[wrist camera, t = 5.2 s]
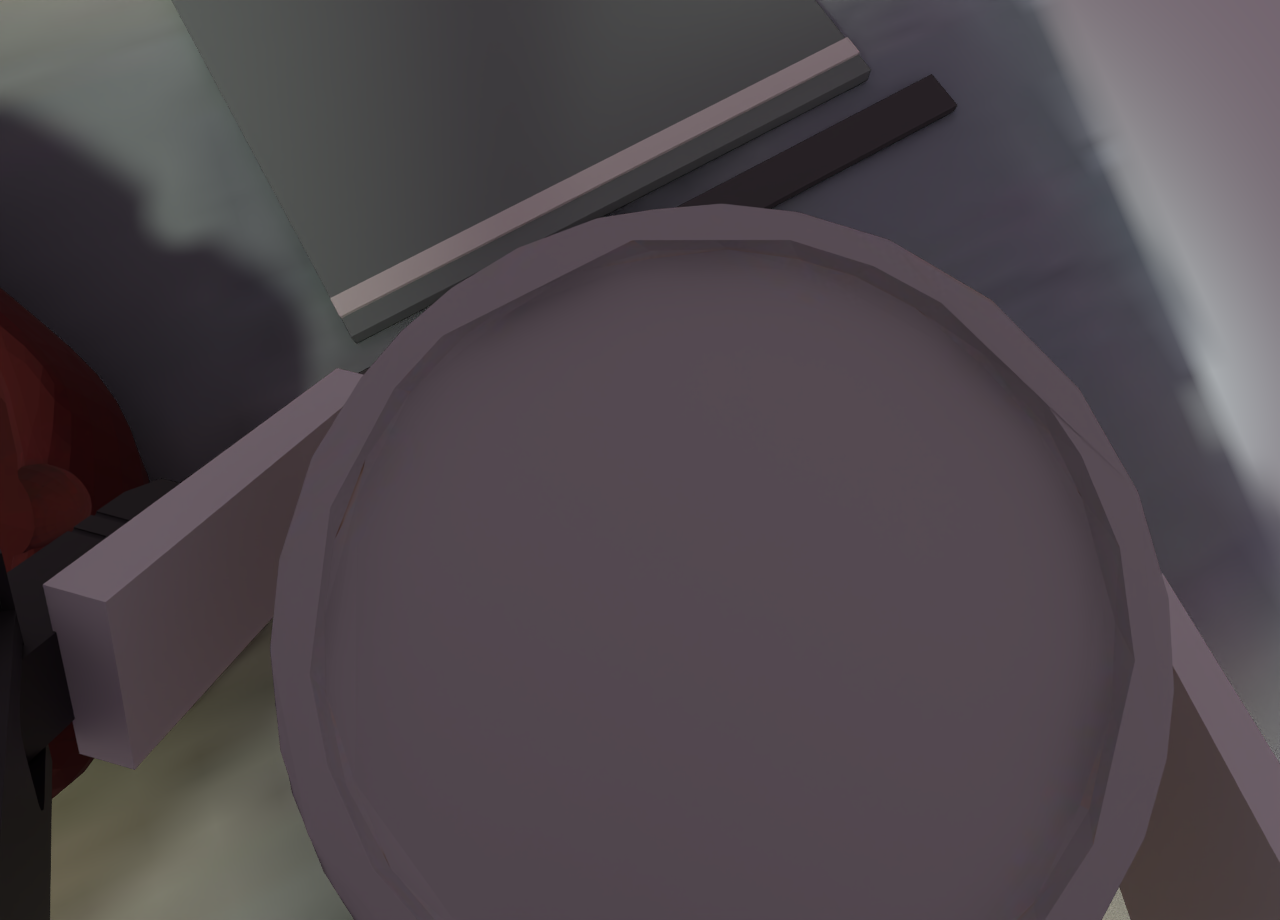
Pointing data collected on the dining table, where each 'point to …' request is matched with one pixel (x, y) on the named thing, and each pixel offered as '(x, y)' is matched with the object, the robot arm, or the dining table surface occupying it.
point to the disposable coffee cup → (720, 597)
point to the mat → (494, 118)
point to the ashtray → (55, 458)
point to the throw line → (832, 149)
